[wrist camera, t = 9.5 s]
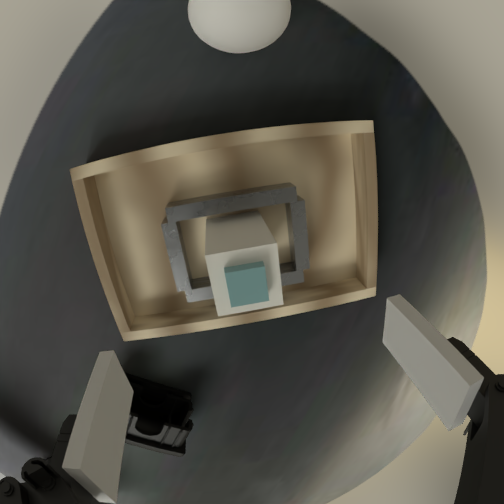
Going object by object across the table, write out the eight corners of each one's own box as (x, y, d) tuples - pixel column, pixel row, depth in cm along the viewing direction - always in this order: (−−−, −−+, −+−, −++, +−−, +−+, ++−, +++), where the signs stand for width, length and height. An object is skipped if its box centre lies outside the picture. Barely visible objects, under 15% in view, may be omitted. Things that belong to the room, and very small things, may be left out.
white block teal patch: (215, 266, 28) (218, 323, 20) (206, 219, 26) (204, 260, 18) (264, 258, 28) (286, 310, 20) (258, 210, 27) (279, 247, 19)
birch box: (130, 320, 30) (123, 341, 27) (85, 163, 24) (69, 169, 21) (360, 279, 32) (375, 295, 29) (354, 120, 26) (372, 120, 22)
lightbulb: (273, 68, 23) (314, 32, 13) (201, 80, 23) (194, 47, 13) (260, 7, 21) (289, -54, 11) (188, 18, 21) (177, -43, 10)
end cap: (107, 403, 34) (97, 442, 28) (116, 368, 32) (104, 411, 26) (179, 424, 37) (178, 465, 31) (196, 393, 35) (196, 437, 29)
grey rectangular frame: (182, 292, 29) (181, 303, 27) (161, 203, 25) (157, 209, 24) (304, 271, 29) (310, 280, 27) (296, 181, 26) (303, 185, 24)
